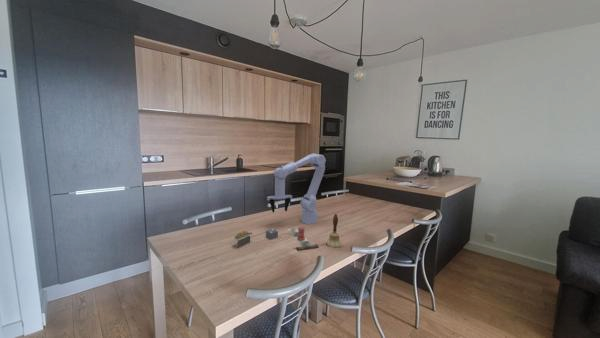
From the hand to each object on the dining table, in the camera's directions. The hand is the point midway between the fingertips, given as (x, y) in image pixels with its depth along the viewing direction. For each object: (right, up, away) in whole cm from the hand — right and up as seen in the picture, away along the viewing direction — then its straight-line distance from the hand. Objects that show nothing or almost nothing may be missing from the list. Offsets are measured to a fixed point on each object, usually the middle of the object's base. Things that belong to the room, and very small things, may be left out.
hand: (279, 211), depth 143 cm
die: (-3, -12, -13) cm, 18 cm away
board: (+11, -13, -12) cm, 21 cm away
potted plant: (-17, -14, -20) cm, 29 cm away
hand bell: (+29, -14, -16) cm, 37 cm away
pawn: (+13, -12, -15) cm, 23 cm away
